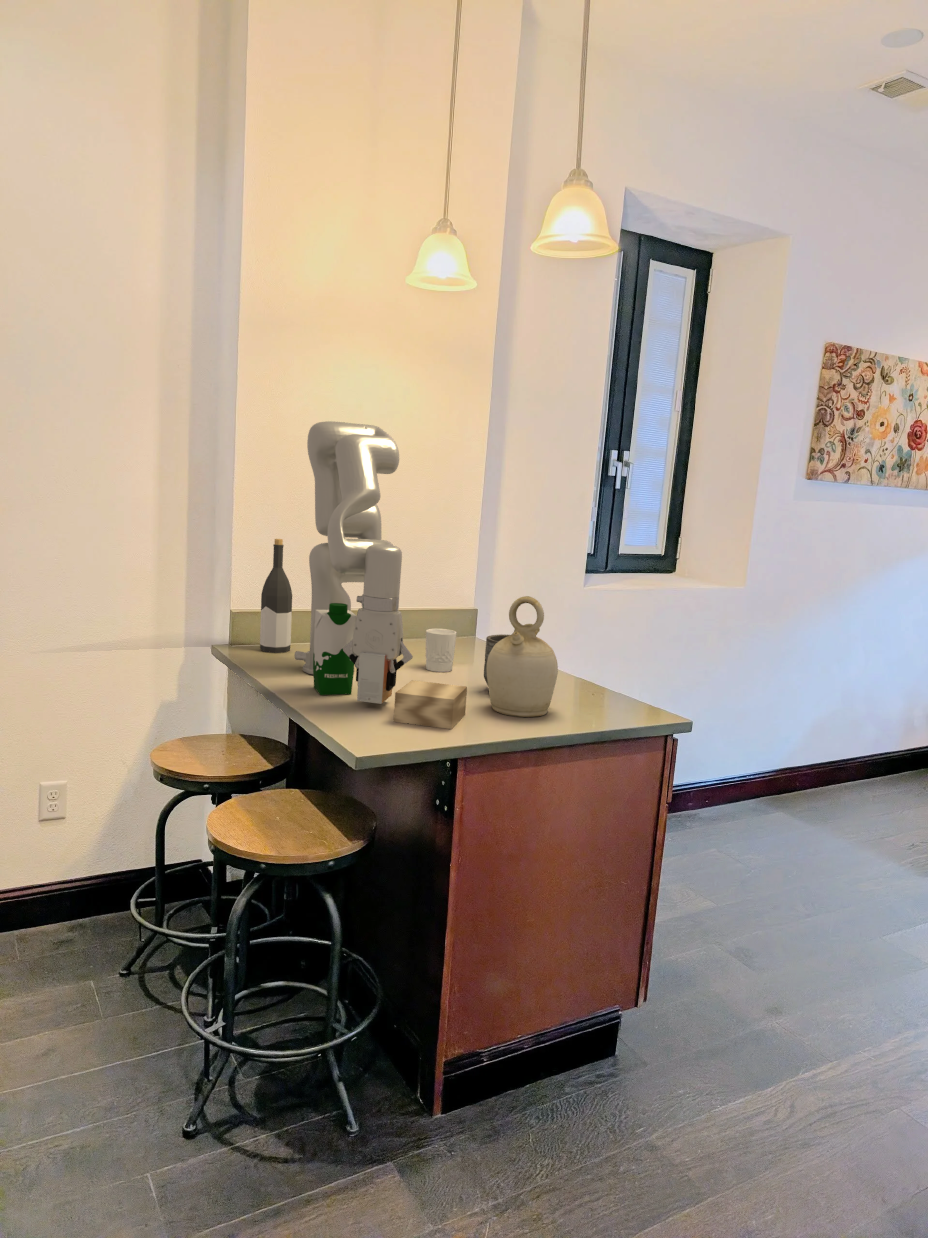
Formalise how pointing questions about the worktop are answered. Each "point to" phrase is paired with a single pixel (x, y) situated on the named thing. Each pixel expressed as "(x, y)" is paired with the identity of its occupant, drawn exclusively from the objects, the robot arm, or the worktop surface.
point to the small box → (372, 678)
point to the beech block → (430, 704)
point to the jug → (522, 668)
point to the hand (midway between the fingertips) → (375, 686)
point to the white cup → (440, 649)
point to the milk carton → (333, 650)
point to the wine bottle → (276, 607)
